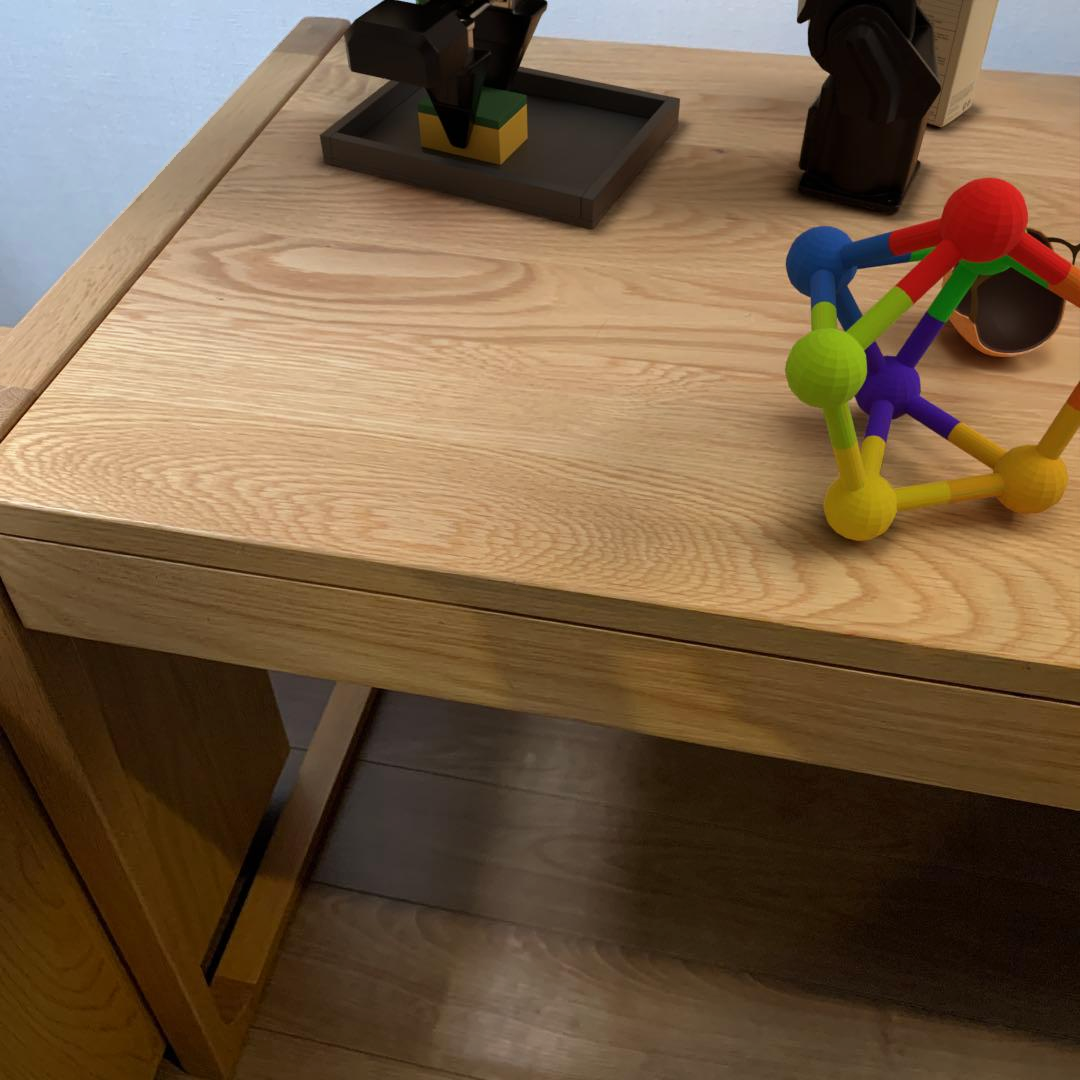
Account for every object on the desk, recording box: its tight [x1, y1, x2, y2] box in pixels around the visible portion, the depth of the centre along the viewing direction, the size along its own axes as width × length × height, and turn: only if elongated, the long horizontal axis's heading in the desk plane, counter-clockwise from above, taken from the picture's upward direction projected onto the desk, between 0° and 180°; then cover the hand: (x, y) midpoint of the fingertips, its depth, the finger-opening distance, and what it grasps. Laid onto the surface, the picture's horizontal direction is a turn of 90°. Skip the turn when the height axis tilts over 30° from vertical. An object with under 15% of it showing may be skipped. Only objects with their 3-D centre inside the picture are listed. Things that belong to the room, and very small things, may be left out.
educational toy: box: [784, 177, 1080, 542], centre depth 45 cm, size 16×13×15 cm
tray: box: [319, 65, 681, 230], centre depth 72 cm, size 20×15×2 cm
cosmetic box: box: [916, 0, 1000, 128], centre depth 71 cm, size 6×4×12 cm
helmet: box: [941, 226, 1080, 358], centre depth 54 cm, size 6×7×8 cm
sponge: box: [417, 86, 528, 165], centre depth 71 cm, size 4×6×3 cm, turn 64°
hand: (475, 132), depth 71 cm, fingers closed on sponge, 4 cm apart
